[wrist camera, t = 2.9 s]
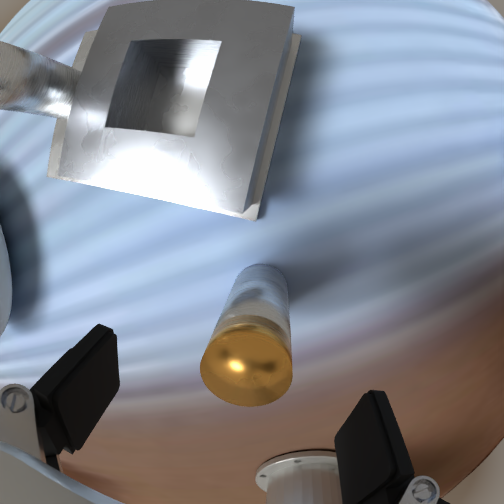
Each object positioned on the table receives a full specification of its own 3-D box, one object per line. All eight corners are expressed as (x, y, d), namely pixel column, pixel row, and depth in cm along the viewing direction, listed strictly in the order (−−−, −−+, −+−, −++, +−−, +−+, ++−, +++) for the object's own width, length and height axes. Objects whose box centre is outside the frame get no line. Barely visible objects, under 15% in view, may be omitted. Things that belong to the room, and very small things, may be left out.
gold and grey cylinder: (294, 271, 20) (305, 349, 11) (279, 318, 21) (277, 413, 12) (240, 258, 20) (207, 325, 11) (229, 306, 21) (195, 394, 12)
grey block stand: (300, 41, 16) (320, -119, 1) (256, 219, 20) (197, 330, 5) (91, 35, 16) (-20, -21, 2) (53, 176, 20) (-86, 197, 6)
